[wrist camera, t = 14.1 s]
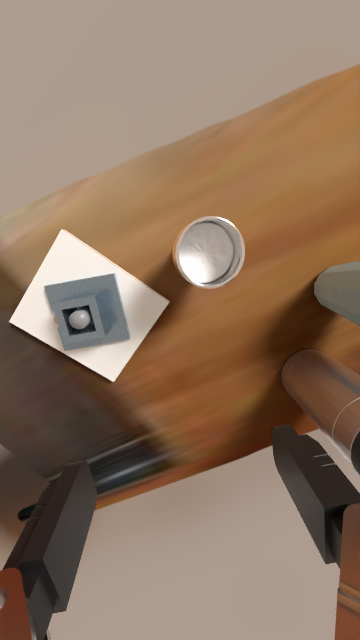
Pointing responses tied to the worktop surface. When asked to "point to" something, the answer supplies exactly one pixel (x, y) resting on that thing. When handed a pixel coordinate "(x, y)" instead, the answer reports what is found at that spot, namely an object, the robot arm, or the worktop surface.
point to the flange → (102, 304)
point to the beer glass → (208, 252)
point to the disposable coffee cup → (340, 290)
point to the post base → (80, 268)
